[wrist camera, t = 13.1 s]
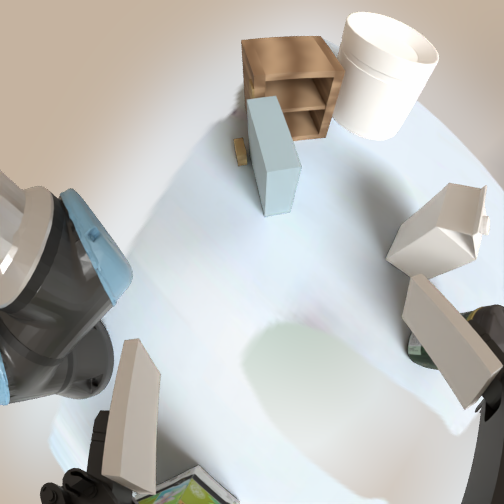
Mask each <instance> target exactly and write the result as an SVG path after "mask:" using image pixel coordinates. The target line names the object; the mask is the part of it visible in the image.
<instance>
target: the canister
mask: <svg viewBox="0 0 504 504" xmlns="http://www.w3.org/2000/svg"><path fill="white" fill-rule="evenodd" d="M337 60H338V61H339V62H340V64H341V65H342V67H343V68H344V70H345V74H344V78H343V81H342V85H341V88H340V92H339V95H338V98H337V102H336V105H335V108H334V112H333V115H332V117H333V118H334V119H335V120H336V121H337V123H338V124H339V125H341V126H342V127H343V128H345V129H346V130H348V131H349V132H351V133H353V134H355V135H357V136H360V137H362V138H366V139H370V140H386V139H389V138H391V137H393V136H394V135H395V134H396V133H397V132H398V131H399V129H400V127H401V126H402V124H403V122H404V121H405V119H406V117H407V116H408V114H409V112H410V111H411V109H412V107H413V105H414V104H415V102H416V100H417V99H418V97H419V95H420V93H421V92H422V90H423V88H424V86H425V85H426V83H427V80H428V78H429V77H430V76H431V74H432V72H433V70H434V68H435V66H436V65H437V63H438V61H439V55H438V53H437V51H436V49H435V47H434V46H433V45H432V44H431V43H430V42H429V41H428V40H427V39H426V38H425V37H424V36H423V35H421V34H420V33H419V32H417V31H416V30H414V29H413V28H411V27H410V26H408V25H406V24H404V23H402V22H400V21H398V20H396V19H393V18H390V17H388V16H384V15H381V14H377V13H371V12H355V13H352V14H349V16H348V17H347V19H346V23H345V27H344V31H343V36H342V42H341V44H340V48H339V53H338V57H337Z"/></svg>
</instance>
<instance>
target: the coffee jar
mask: <svg viewBox="0 0 504 504" xmlns="http://www.w3.org/2000/svg"><path fill="white" fill-rule="evenodd" d="M460 314H461V315H462V316H463V317H464V318H465V320H466V321H469V320H471V319H472V320H473V321H475V322H477V323H478V324H480V325H481V326H482V327H483V329H484V330H485V331H486V333H487V334H489V336H490V337H491V339H493V340H494V341H495V343H496V344H497V345H498V346H499V348H500V349H501V350H502V351H503V353H504V307H503V306H501V305H491V306H485V307H480V308H478V309H476V310H474V311H470V312H465V313H460ZM408 355H409V357H410V359H411V360H412V361H413V362H414V363H416V364H418V365H421V366H423V367H426V368H430V369H436V370H439V369H438V368H437V366H436V365H435V363H434V362H433V360H432V359H431V358H430V356H429V355H428V353H427V352H426V350H425V349H424V348H423V346H422V345H421V343H420V342H419V341H418V339H417V338H416V336H415V335H414V334H413V332H411V335H410V339H409V343H408Z"/></svg>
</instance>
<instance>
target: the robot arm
mask: <svg viewBox="0 0 504 504" xmlns="http://www.w3.org/2000/svg"><path fill="white" fill-rule="evenodd" d="M132 277H133V274H132V268H131V266H130V264H129V262H128V261H127V259H126V258H125V256H124V255H123V253H122V252H121V250H120V249H119V247H118V246H117V245H116V243H115V242H114V240H113V239H112V238H111V236H110V235H109V234H108V232H107V231H106V230H105V228H104V227H103V225H102V224H101V223H100V221H99V220H98V219H97V217H96V216H95V214H94V213H93V212H92V211H91V209H90V208H89V207H88V205H87V204H86V203H85V201H84V200H83V199H82V198H81V196H80V195H79V194H78V193H77V192H76V191H75V190H74V189H71V188H70V189H68V190H66V191H65V192H63V193H61V194H60V196H59V198H57V197H55V196H54V195H53V194H52V193H51V192H50V191H49V190H48V189H46V188H45V187H42V186H35V187H31V188H28V189H24V190H23V189H20V188H19V187H18V186H17V185H16V184H15V183H14V182H13V181H11V180H10V179H9V178H8V177H7V176H6V175H5V174H4V173H3V172H2V171H1V170H0V405H8V404H10V403H15V402H20V401H26V400H30V399H35V398H40V397H45V396H49V395H53V394H57V395H61V396H64V397H68V398H72V399H85V398H89V397H92V396H95V395H97V394H99V393H100V392H101V391H102V390H103V389H104V388H105V387H106V386H107V384H108V383H109V381H110V378H111V375H112V372H113V365H114V356H113V348H112V344H111V341H110V338H109V335H108V333H107V331H106V329H105V328H104V326H103V324H102V323H101V322H100V321H99V320H100V319H101V318H102V317H103V316H104V315H105V314H106V313H107V312H108V311H109V310H110V309H111V308H112V307H113V306H115V305H116V301H117V300H118V299H119V297H120V296H121V295H122V294H123V293H124V291H125V290H126V289H127V288H128V287H129V285H130V284H131V282H132ZM402 319H403V320H404V321H405V323H406V324H407V325H408V327H409V328H410V329H411V331H412V332H413V334H414V335H415V336H416V338H417V339H418V341H419V342H420V343H421V345H422V346H423V348H424V349H425V350H426V352H427V353H428V355H429V356H430V358H431V359H432V360H433V362H434V363H435V365H436V366H437V368H438V369H439V371H440V372H441V374H442V375H443V377H444V378H445V380H446V381H447V383H448V384H449V386H450V388H451V389H452V391H453V392H454V394H455V395H456V397H457V399H458V400H459V402H460V403H461V405H462V407H463V408H464V410H466V409H467V408H469V407H470V406H472V405H473V404H474V403H476V402H477V401H478V399H479V398H480V397H481V396H483V398H484V399H483V400H482V401H481V403H480V404H479V405H478V406H477V408H476V410H475V412H478V410H479V409H480V408H481V410H480V413H481V416H480V424H479V432H478V437H477V443H476V449H475V454H474V459H473V464H472V467H471V472H470V476H469V479H468V483H467V487H466V490H465V493H464V497H463V500H462V503H461V504H504V353H503V351H502V350H501V349H500V348H499V346H498V345H497V344H496V343H495V341H494V340H493V339H491V337H490V336H489V334H487V333H486V331H485V330H484V329H483V327H482V326H481V325H480V324H478V323H477V322H475V321H473V320H472V319H471V320H469V321H466V320H465V318H464V317H463V316H462V315H461V314H460V313H459V312H458V311H457V310H456V308H455V307H454V306H453V305H452V304H451V303H450V302H449V301H448V300H447V299H446V298H445V297H444V296H443V294H442V293H441V292H440V291H439V290H438V289H437V288H436V287H435V286H434V285H433V284H432V283H431V282H430V281H429V280H428V279H427V278H426V277H425V276H424V275H423V274H422V273H421V274H418V275H415V276H412V277H410V282H409V287H408V292H407V296H406V301H405V305H404V310H403V314H402ZM160 376H161V374H160V372H159V371H158V369H157V368H156V366H155V364H154V363H153V361H152V359H151V358H150V356H149V355H148V353H147V351H146V350H145V348H144V346H143V344H142V343H141V341H140V339H131V340H125V341H124V345H123V349H122V353H121V358H120V362H119V366H118V371H117V376H116V381H115V385H114V391H113V396H112V401H111V407H110V411H100V412H99V414H98V415H97V417H96V419H95V421H94V426H93V433H92V438H91V440H92V442H91V444H90V451H89V458H88V466H87V472H85V471H83V470H81V469H79V468H73V469H70V470H68V471H67V472H66V473H65V475H64V477H63V486H61V487H60V486H58V485H56V484H54V483H46V484H44V485H43V487H42V488H41V492H40V498H41V502H42V504H139V503H138V502H137V500H136V499H135V498H134V497H133V496H132V491H134V492H136V493H139V494H151V495H156V440H157V418H158V402H159V388H160Z"/></svg>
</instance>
